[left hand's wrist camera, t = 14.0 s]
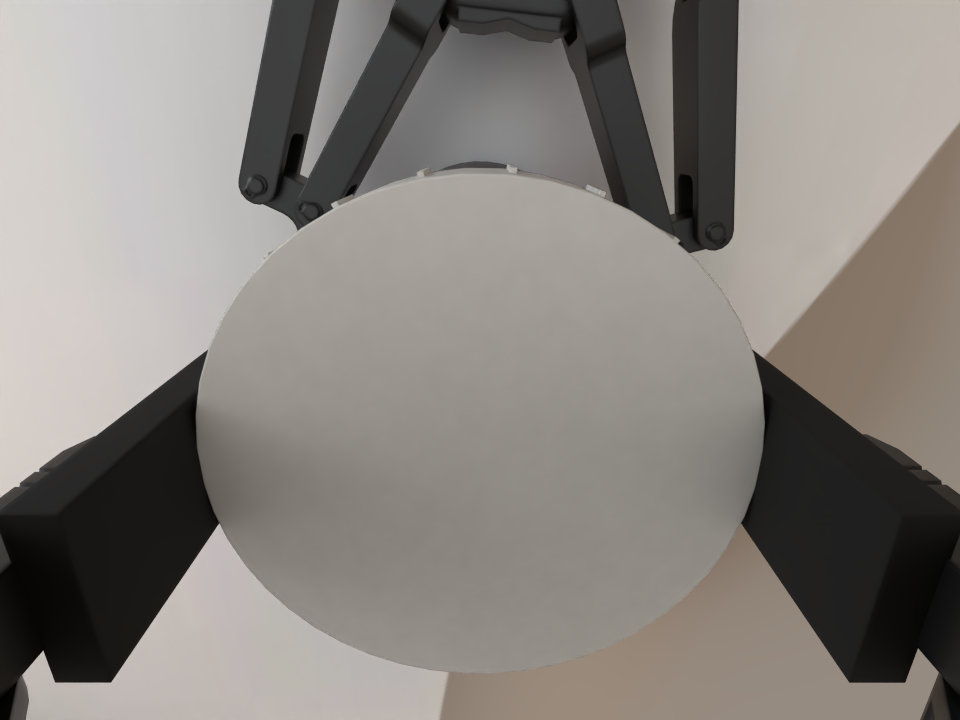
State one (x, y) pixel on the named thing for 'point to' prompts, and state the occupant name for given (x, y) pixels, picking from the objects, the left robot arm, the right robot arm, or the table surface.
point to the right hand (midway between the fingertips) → (468, 405)
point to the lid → (480, 421)
